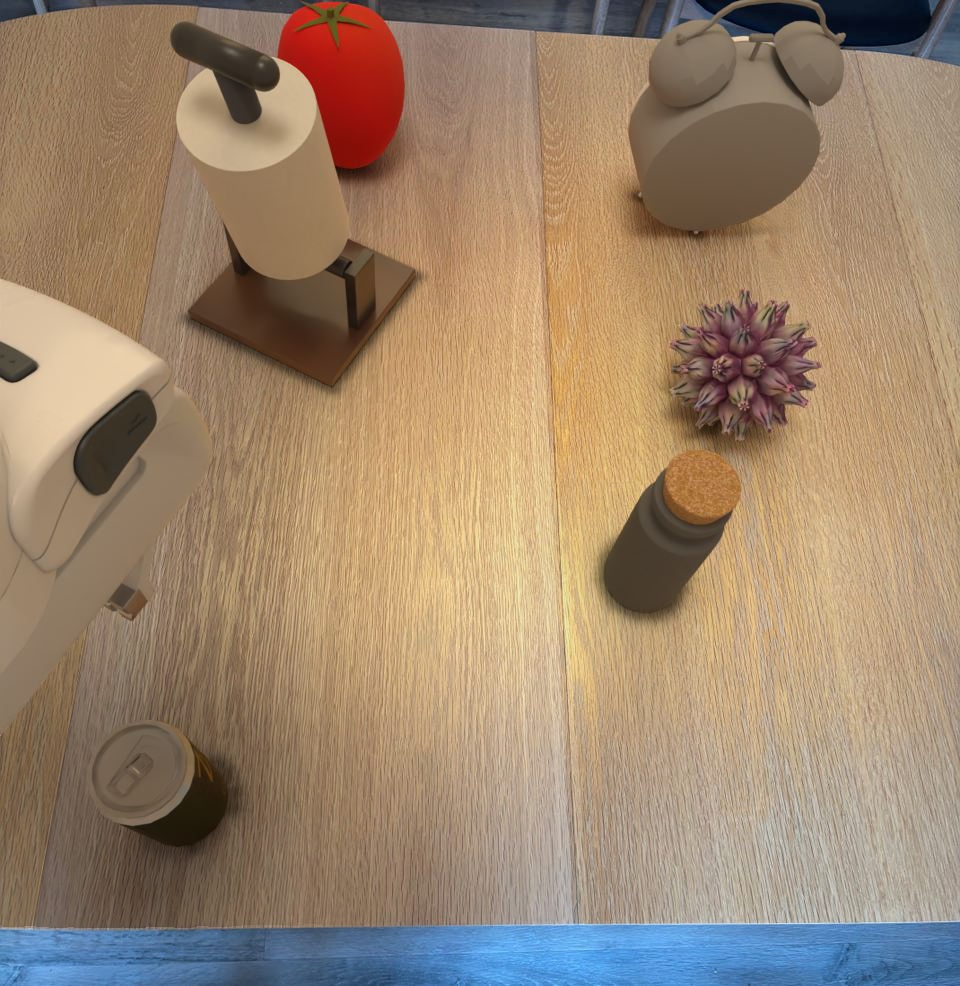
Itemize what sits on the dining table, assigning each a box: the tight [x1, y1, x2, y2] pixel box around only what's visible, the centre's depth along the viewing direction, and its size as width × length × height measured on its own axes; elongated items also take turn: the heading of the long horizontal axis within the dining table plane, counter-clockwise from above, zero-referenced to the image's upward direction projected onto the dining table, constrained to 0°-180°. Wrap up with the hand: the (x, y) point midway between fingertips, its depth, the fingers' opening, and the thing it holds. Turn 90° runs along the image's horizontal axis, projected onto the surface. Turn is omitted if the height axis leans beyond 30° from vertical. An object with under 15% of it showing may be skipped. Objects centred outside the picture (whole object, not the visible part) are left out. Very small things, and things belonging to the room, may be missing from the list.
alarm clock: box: [626, 0, 847, 235], centre depth 74 cm, size 16×9×22 cm, turn 97°
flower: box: [668, 288, 822, 442], centre depth 68 cm, size 12×12×12 cm
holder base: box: [187, 219, 416, 388], centre depth 72 cm, size 14×14×8 cm
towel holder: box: [169, 21, 352, 280], centre depth 60 cm, size 22×9×9 cm
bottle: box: [603, 448, 742, 613], centre depth 58 cm, size 6×6×15 cm
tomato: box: [276, 0, 406, 170], centre depth 78 cm, size 13×11×14 cm
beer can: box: [86, 719, 229, 848], centre depth 49 cm, size 5×5×12 cm
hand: (50, 701), depth 33 cm, fingers open, 8 cm apart
